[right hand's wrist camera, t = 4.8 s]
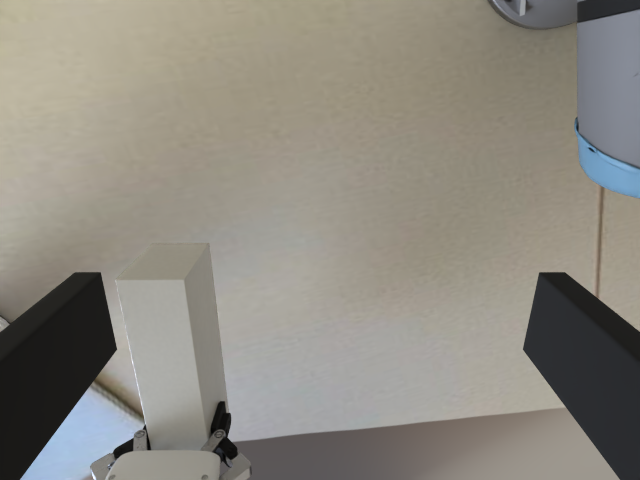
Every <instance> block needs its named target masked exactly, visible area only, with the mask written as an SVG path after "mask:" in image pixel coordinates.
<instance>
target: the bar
mask: <svg viewBox="0 0 640 480" xmlns="http://www.w3.org/2000/svg"><path fill="white" fill-rule="evenodd" d="M115 282H116V286H117V291H118V296H119V300H120V305H121V310H122V315H123V319H124V324H125V329H126V333H127V338H128V343H129V348H130V352H131V357H132V362H133V366H134V371H135V376H136V380H137V385H138V390H139V395H140V399H141V404H142V409H143V413H144V418H145V423H146V428H147V432H148V437H149V442H150V446H151V450H194V451H200V449H201V448H202V447H203V446H204V444H205V443H206V442H207V441H208V439H209V438H210V437H211V424H212V421H213V418H214V415H215V412H216V409H217V405H218V403H219V402H220V401H225V405H226V413H228V412H229V410H228V401H227V393H226V384H225V375H224V367H223V358H222V349H221V341H220V332H219V324H218V315H217V306H216V298H215V289H214V280H213V272H212V263H211V255H210V246H209V243H152V244H151V245H150V246H149V247H148V248H147V249H146V250H145V251H144V252H143V253H142V254H141V255H140V256H139V257H138V258H137V259H136V260H135V261H134V262H133V263H132V264H131V265H130V266H129V267H128V268H127V269H126V270H125V271H124V272H123V273H122V274H121V275H120V276H119V277H118V278H117V279H116V280H115Z"/></svg>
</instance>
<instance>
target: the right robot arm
mask: <svg viewBox="0 0 640 480" xmlns="http://www.w3.org/2000/svg"><path fill="white" fill-rule="evenodd" d="M488 2H489V3H490V5H491V6H492V7H493V8H494V10H495V11H496V12H497V13H498V14H499V15H500V16H501V17H503V18H504V19H506V20H507V21H509V22H511V23H512V24H515V25H517V26H519V27H523V28H527V29H536V30H543V29H551V28H556V27H561V26H565V25H568V24H571V23H574V22H576V21H577V22H578V23H577V109H578V117H577V118H576V119H575V124H574V129H575V132H576V135H577V137H578V149H579V162H580V165H581V167H582V168H583V170H584V172H585V173H586V174H587V176H588V177H589V178H590V179H591V180H593V181H594V182H596V183H597V184H599V185H600V186H602V187H604V188H607V189H609V190H611V191H614V192H617V193H621V194H624V195H628V196H632V197H635V198H640V0H488ZM116 350H117V347H116V342H115V338H114V333H113V328H112V324H111V319H110V314H109V309H108V305H107V300H106V295H105V291H104V286H103V281H102V276H101V272H75V273H74V274H72V275H71V276H70V277H69V278H67V279H66V280H65V281H64V282H62V283H61V284H60V285H59V286H57V287H56V288H55V289H54V290H52V291H51V292H50V293H49V294H47V295H46V296H45V297H44V298H42V299H41V300H40V301H39V302H37V303H36V304H35V305H34V306H32V307H31V308H30V309H28V310H27V311H26V312H25V313H23V314H22V315H21V316H20V317H18V318H17V319H16V320H15V321H13V322H12V323H11V324H10V325H8V326H7V327H6V328H5V329H3V330H2V331H1V332H0V480H20V479H21V477H22V476H23V475H24V473H25V472H26V471H27V469H28V468H29V467H30V465H31V464H32V463H33V461H34V460H35V459H36V457H37V456H38V455H39V453H40V452H41V451H42V449H43V448H44V447H45V445H46V444H47V443H48V441H49V440H50V439H51V437H52V436H53V435H54V433H55V432H56V431H57V429H58V428H59V426H60V425H61V424H62V422H63V421H64V420H65V418H66V417H67V416H68V414H69V413H70V412H71V410H72V409H73V408H74V406H75V405H76V404H77V402H78V401H79V400H80V398H81V397H82V396H83V394H84V393H85V392H86V390H87V389H88V388H89V386H90V385H91V384H92V382H93V381H94V380H95V378H96V377H97V376H98V374H99V373H100V372H101V370H102V369H103V368H104V366H105V365H106V364H107V362H108V361H109V360H110V358H111V357H112V355H113V354H114V353H115V351H116ZM523 350H524V351H525V353H526V354H527V355H528V357H529V358H530V360H531V361H532V362H533V364H534V365H535V366H536V368H537V369H538V370H539V372H540V373H541V374H542V376H543V377H544V378H545V380H546V381H547V382H548V384H549V385H550V386H551V388H552V389H553V390H554V392H555V393H556V394H557V396H558V397H559V398H560V400H561V401H562V402H563V404H564V405H565V406H566V408H567V409H568V410H569V412H570V413H571V414H572V416H573V417H574V418H575V420H576V421H577V422H578V424H579V425H580V426H581V428H582V429H583V430H584V432H585V433H586V434H587V436H588V437H589V439H590V440H591V441H592V443H593V444H594V445H595V446H596V448H597V449H598V451H599V452H600V453H601V455H602V456H603V457H604V459H605V460H606V461H607V463H608V464H609V465H610V467H611V468H612V469H613V471H614V472H615V473H616V475H617V476H618V477H619V479H620V480H640V332H639V331H638V330H637V329H635V328H634V327H633V326H632V325H630V324H629V323H628V322H627V321H625V320H624V319H623V318H622V317H620V316H619V315H618V314H617V313H615V312H614V311H613V310H612V309H610V308H609V307H608V306H606V305H605V304H604V303H603V302H601V301H600V300H599V299H598V298H596V297H595V296H594V295H593V294H591V293H590V292H589V291H588V290H586V289H585V288H584V287H583V286H581V285H580V284H579V283H578V282H576V281H575V280H574V279H573V278H571V277H570V276H569V275H568V274H566V273H565V272H539V276H538V281H537V286H536V291H535V295H534V300H533V305H532V309H531V314H530V319H529V324H528V328H527V333H526V338H525V342H524V347H523Z"/></svg>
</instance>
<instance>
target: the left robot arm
mask: <svg viewBox="0 0 640 480" xmlns="http://www.w3.org/2000/svg"><path fill="white" fill-rule="evenodd" d="M8 325H10V324H9V323H8V322H7V321H6V320H4V319H3V318H2V317H0V332H1V331H2V330H3V329H5V328H6V327H7V326H8ZM230 425H231V414H230V413H226V405H225V401H220V402H219V403H218V405H217V409H216V412H215V415H214V418H213V421H212V424H211V437H210V438H209V439H208V441H207V442H206V443H205V444H204V446H203V447H202V448H201V449H200V451H194V450H151V446H150V442H149V437H148V432H147V428H146V424H145V426H144V428H143V430H139V431H137V432H136V433H135V434H134V438H133V439H131V440H129V441H127V442H126V443H124V444H122V445H120V446H119V447H117V448H116V449H115V450H114V451H113V453H111V454H110V453H109V454H108V455H106V456H104V457H102V458H100V459H99V460H97V461H95V462H94V463H92V464H91V466H90V468H91V472H92V475H93V478H94V480H247V479H248V478H249V477H250V476H251V474H252V472H251V463H250V461H249V460H248V459H247V458H245V457H244V456H243V455H242V454H241V453H240V452H239V451H238V450H237V447H236V446H235V445H234V444H233V443H232V442H231V441H230V440H229V439H228V438H227V437H228V433H229V429H230ZM222 461H223V462H224V463H225V464H226V465H227V466H228V467H230V468H231V469H229V470H228V471H227V472H225V473H224V474H223V475H221V476H220V477H219V475H220V464H221V463H222Z"/></svg>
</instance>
